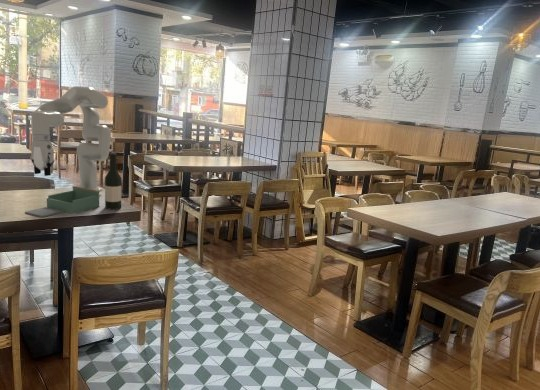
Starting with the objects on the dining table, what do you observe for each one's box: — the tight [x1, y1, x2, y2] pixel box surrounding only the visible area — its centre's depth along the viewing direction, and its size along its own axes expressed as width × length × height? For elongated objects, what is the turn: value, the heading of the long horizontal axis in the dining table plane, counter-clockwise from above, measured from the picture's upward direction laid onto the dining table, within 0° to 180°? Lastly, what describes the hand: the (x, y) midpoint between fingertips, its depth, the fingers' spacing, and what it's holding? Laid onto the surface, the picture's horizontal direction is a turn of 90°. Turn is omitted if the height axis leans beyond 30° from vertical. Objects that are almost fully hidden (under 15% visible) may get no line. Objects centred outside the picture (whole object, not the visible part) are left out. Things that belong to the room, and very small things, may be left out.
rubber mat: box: [24, 206, 64, 218], centre depth 219 cm, size 12×12×1 cm
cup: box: [34, 146, 49, 171], centre depth 214 cm, size 7×7×21 cm
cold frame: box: [46, 185, 101, 214], centre depth 232 cm, size 18×18×9 cm
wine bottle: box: [104, 152, 122, 211], centre depth 235 cm, size 8×8×30 cm
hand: (42, 174), depth 215 cm, fingers closed on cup, 6 cm apart
